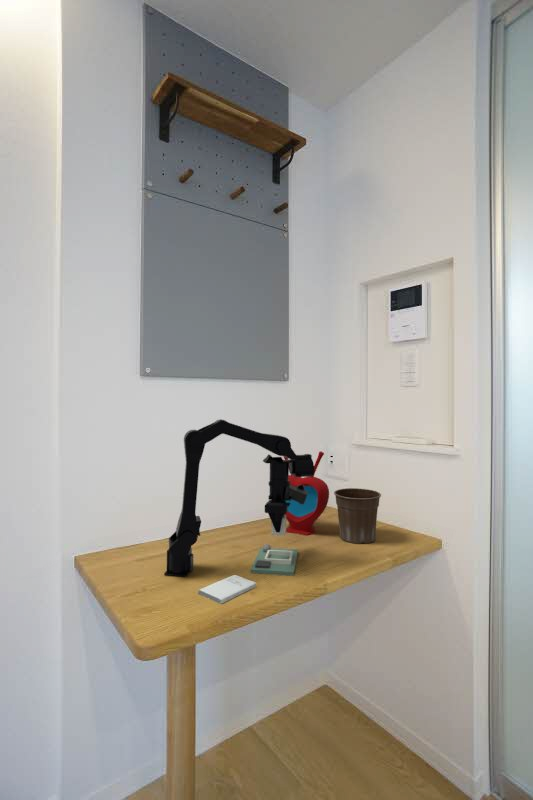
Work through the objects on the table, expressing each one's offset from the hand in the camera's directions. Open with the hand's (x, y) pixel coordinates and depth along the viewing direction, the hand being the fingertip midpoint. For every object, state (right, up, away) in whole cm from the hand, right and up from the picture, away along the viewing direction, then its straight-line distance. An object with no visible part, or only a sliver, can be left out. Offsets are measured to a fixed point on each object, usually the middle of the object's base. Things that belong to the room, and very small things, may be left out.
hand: (278, 530), depth 123 cm
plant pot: (+28, -10, +22) cm, 38 cm away
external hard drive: (-13, -10, -19) cm, 25 cm away
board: (-1, -10, 0) cm, 10 cm away
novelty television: (+10, -10, +32) cm, 35 cm away
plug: (0, -1, 0) cm, 1 cm away
